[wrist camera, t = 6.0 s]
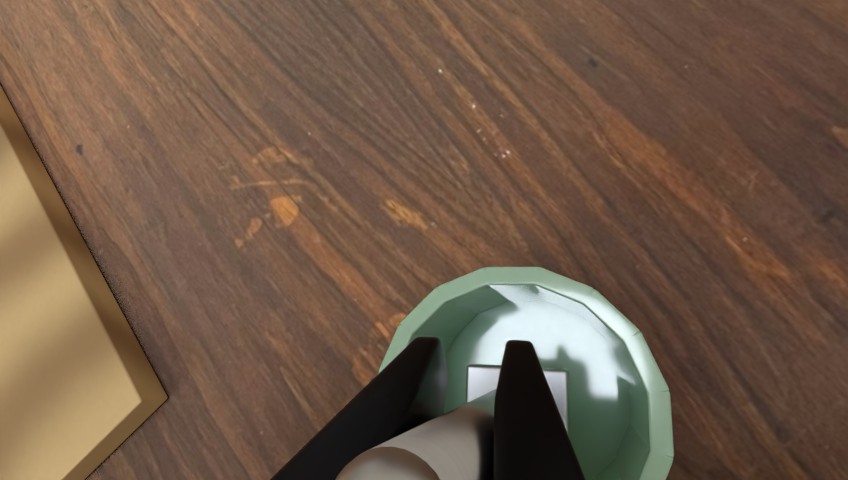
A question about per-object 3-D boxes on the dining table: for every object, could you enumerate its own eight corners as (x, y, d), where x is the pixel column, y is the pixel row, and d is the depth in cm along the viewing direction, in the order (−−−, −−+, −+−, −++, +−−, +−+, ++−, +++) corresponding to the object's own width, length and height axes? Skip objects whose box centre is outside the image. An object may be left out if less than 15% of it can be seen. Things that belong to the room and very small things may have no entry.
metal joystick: (568, 368, 14) (540, 425, 4) (570, 442, 13) (543, 741, 3) (472, 363, 15) (232, 396, 4) (471, 432, 14) (202, 644, 4)
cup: (648, 521, 15) (684, 607, 10) (427, 490, 18) (366, 548, 12) (637, 290, 17) (662, 265, 12) (435, 288, 19) (383, 267, 14)
